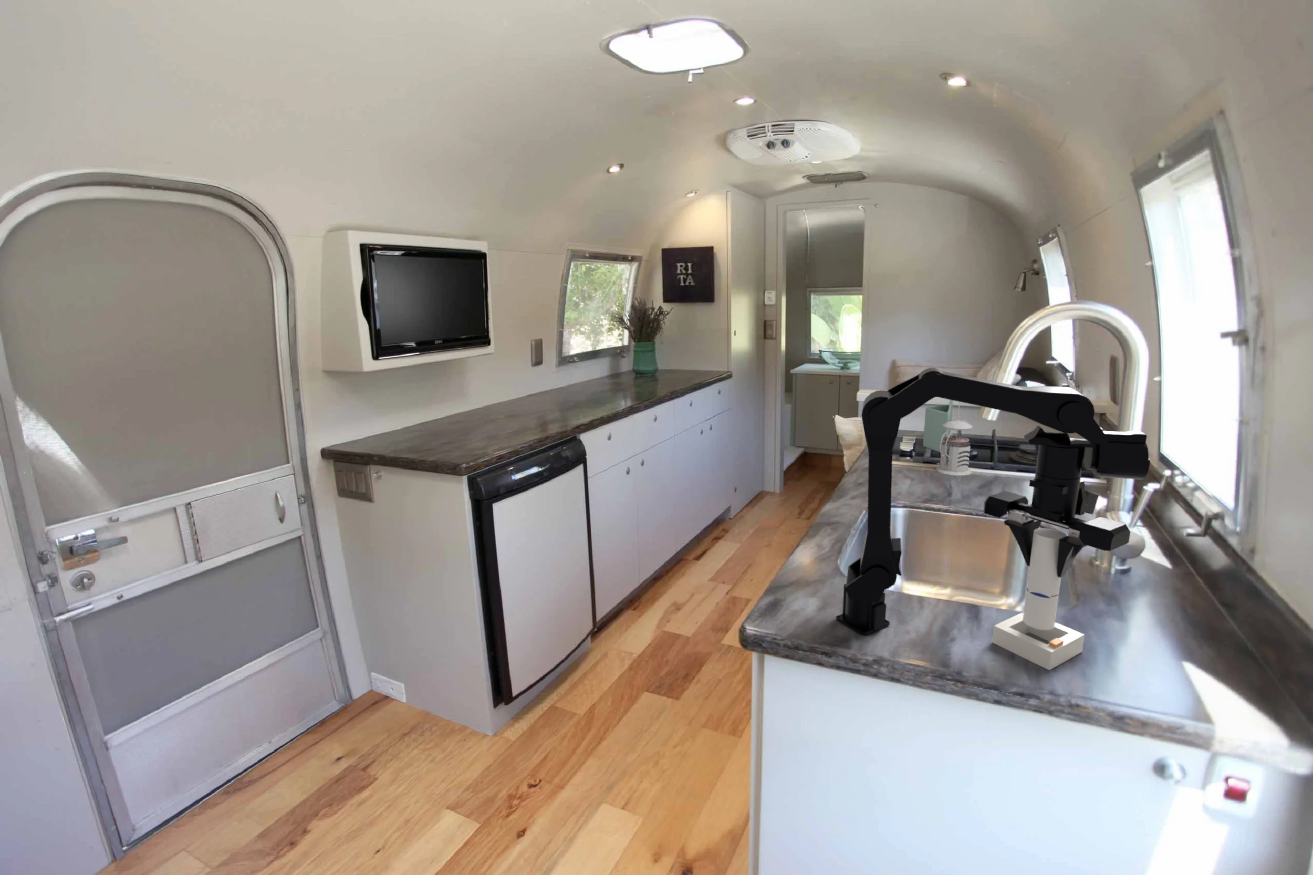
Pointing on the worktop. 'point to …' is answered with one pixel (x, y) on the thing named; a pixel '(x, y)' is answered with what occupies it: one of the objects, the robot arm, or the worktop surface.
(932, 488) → the worktop surface
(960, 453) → the french press
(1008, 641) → the white hollow square block
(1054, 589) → the tube
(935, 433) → the planter
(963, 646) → the worktop surface
